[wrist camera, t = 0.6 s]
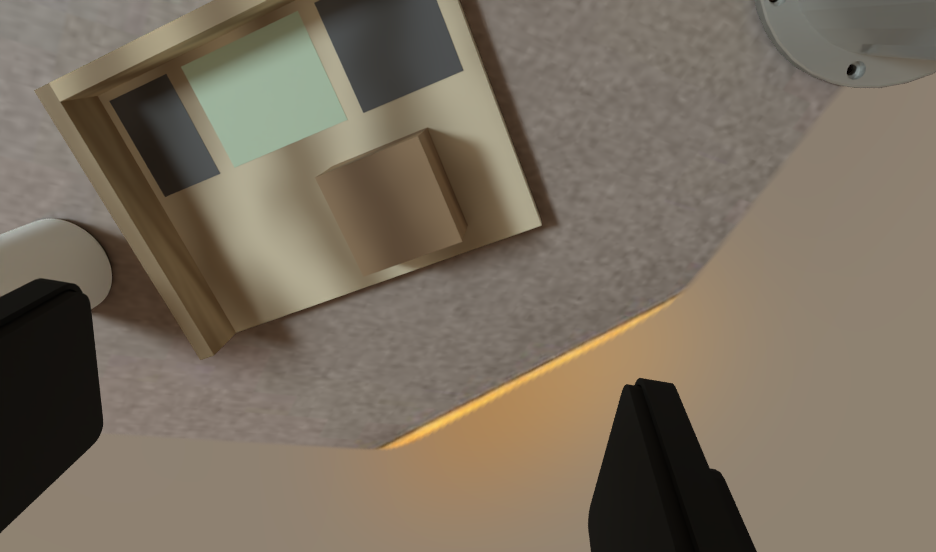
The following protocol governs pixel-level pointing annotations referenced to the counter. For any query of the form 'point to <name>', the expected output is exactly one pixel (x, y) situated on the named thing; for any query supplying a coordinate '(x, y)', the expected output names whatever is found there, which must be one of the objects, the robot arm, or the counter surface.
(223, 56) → the green pad
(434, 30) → the board
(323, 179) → the block
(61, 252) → the can
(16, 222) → the counter surface
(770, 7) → the robot arm
